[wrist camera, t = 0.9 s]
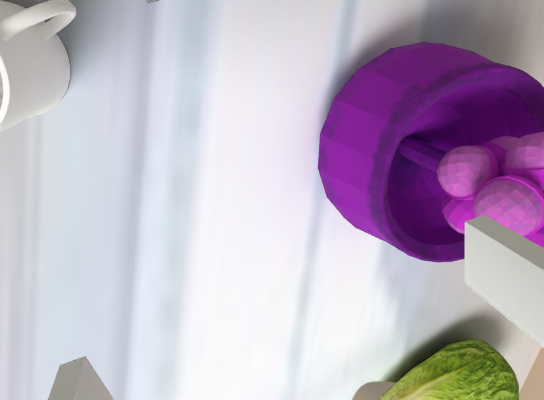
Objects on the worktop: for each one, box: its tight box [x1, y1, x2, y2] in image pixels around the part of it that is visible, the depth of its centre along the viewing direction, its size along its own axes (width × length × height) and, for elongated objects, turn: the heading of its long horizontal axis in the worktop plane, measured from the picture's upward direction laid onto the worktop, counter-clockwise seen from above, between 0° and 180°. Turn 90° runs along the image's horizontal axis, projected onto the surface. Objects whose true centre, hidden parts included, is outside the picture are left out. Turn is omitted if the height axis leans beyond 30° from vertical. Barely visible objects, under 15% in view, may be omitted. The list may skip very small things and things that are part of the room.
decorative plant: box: [318, 42, 544, 262], centre depth 26 cm, size 19×18×30 cm
